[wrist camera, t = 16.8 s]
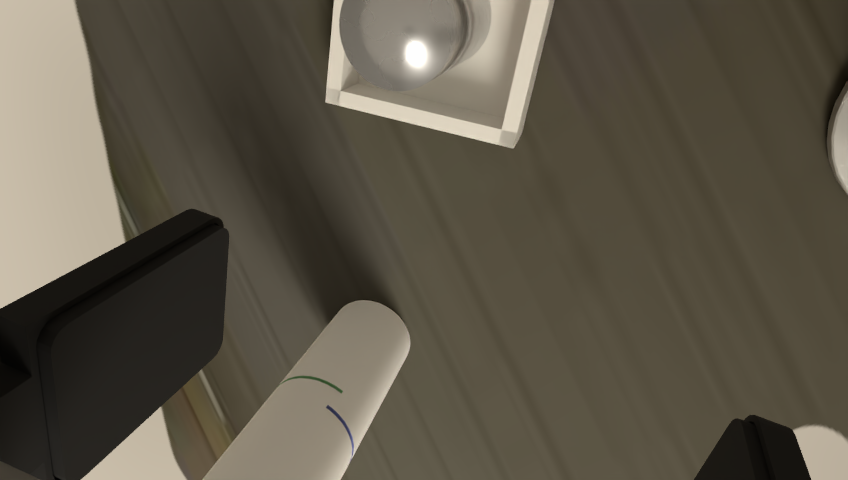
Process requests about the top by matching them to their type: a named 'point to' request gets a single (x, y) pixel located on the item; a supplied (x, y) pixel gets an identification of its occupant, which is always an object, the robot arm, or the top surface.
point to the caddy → (460, 79)
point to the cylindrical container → (322, 401)
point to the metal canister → (411, 38)
